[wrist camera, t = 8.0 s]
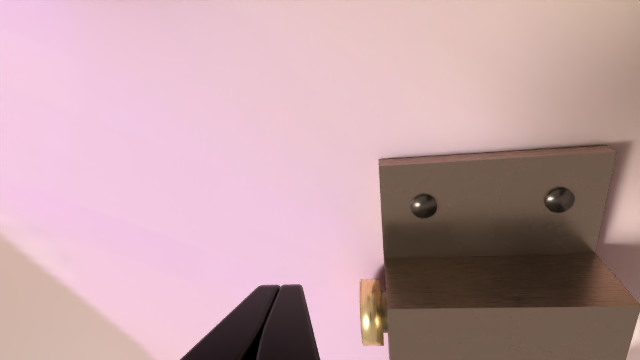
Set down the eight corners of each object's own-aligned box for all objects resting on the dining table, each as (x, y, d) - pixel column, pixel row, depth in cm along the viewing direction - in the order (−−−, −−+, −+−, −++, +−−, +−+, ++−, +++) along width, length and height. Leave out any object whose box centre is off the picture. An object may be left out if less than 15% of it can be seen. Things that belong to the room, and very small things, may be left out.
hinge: (606, 145, 18) (674, 189, 14) (560, 378, 24) (598, 455, 20) (378, 159, 19) (381, 203, 15) (390, 376, 25) (394, 447, 22)
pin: (603, 260, 20) (643, 307, 17) (591, 310, 21) (627, 361, 18) (360, 266, 21) (359, 310, 18) (364, 312, 23) (363, 360, 20)
